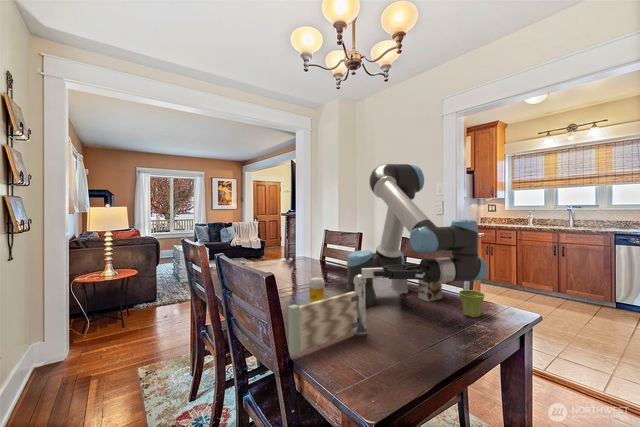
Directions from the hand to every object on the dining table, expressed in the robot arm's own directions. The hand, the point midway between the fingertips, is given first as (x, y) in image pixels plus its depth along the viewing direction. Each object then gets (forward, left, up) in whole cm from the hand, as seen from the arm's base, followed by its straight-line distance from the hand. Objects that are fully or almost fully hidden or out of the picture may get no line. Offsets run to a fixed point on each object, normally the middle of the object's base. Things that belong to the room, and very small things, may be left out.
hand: (362, 273), depth 87 cm
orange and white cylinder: (-30, +14, -24) cm, 41 cm away
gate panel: (-10, -5, -22) cm, 25 cm away
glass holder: (-19, +66, -24) cm, 73 cm away
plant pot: (+20, +51, -24) cm, 60 cm away
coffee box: (0, +62, -24) cm, 66 cm away
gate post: (-7, +10, -24) cm, 27 cm away
